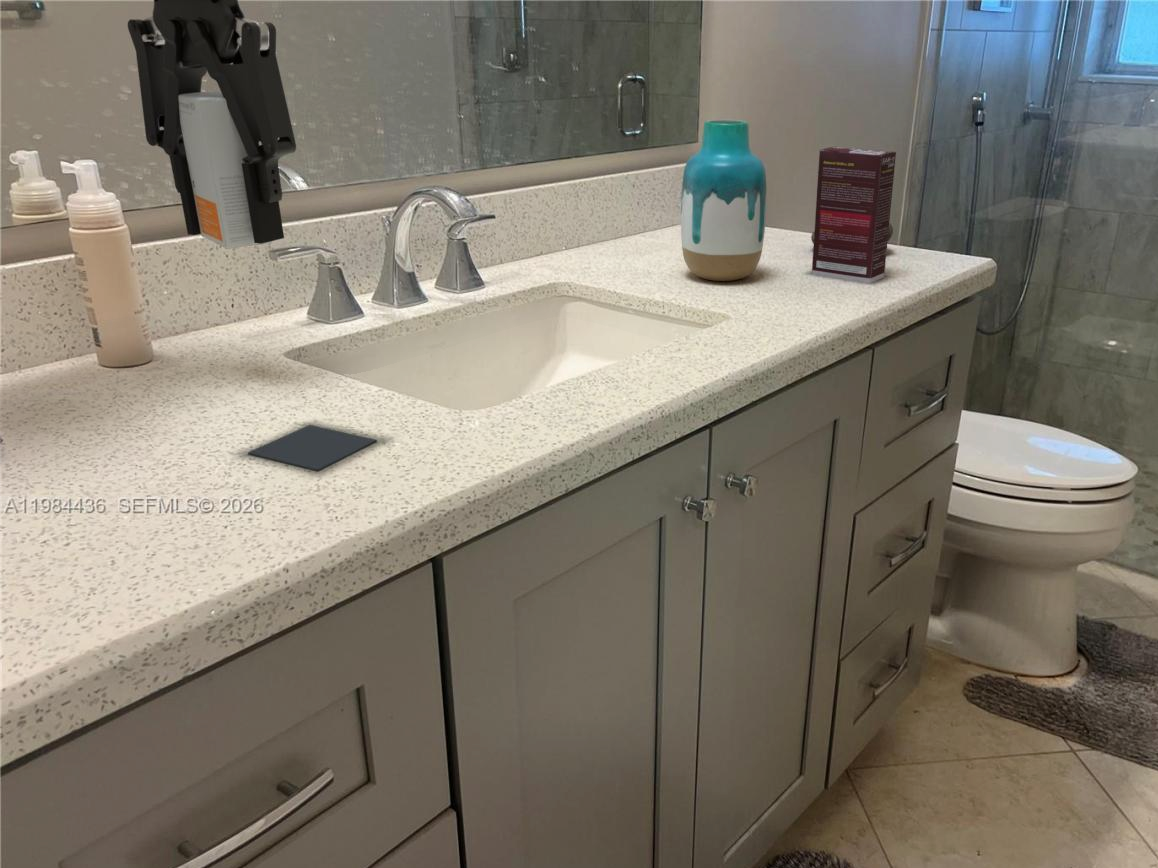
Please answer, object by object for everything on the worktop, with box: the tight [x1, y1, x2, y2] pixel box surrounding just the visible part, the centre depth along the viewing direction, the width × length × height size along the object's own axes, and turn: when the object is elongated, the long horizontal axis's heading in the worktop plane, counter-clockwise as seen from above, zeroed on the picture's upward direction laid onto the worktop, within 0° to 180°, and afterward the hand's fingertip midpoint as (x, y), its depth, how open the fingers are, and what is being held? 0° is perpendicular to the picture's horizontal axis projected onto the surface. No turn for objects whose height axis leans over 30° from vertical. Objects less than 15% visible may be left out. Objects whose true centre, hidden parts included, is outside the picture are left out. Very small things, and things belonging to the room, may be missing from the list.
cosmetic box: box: [178, 91, 273, 250], centre depth 88 cm, size 6×4×12 cm
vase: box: [680, 118, 767, 282], centre depth 129 cm, size 11×11×19 cm
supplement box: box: [811, 146, 897, 284], centre depth 132 cm, size 9×5×16 cm, turn 56°
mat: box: [247, 424, 378, 473], centre depth 81 cm, size 7×7×1 cm
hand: (235, 235), depth 91 cm, fingers closed on cosmetic box, 7 cm apart
